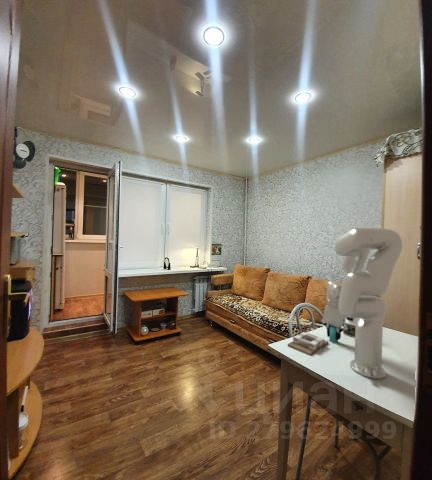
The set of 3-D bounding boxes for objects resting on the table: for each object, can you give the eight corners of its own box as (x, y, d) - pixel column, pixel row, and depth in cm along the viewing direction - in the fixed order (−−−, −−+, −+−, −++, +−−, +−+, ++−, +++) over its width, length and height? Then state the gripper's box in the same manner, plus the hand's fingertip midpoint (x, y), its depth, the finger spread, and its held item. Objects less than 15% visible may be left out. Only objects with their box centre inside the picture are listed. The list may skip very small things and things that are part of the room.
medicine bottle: (342, 333, 132) (343, 313, 132) (347, 330, 136) (347, 311, 136) (356, 338, 126) (357, 317, 126) (360, 334, 131) (361, 314, 131)
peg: (337, 343, 119) (338, 328, 119) (329, 342, 120) (329, 327, 120) (337, 340, 122) (337, 326, 122) (329, 339, 124) (329, 324, 124)
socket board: (310, 355, 106) (310, 348, 106) (287, 345, 115) (287, 339, 115) (328, 343, 119) (328, 336, 119) (306, 335, 128) (306, 329, 128)
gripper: (354, 307, 117) (353, 342, 117) (323, 299, 130) (322, 331, 130) (347, 309, 112) (346, 345, 112) (316, 301, 126) (315, 333, 126)
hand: (333, 337), depth 121 cm, fingers closed on peg, 4 cm apart
